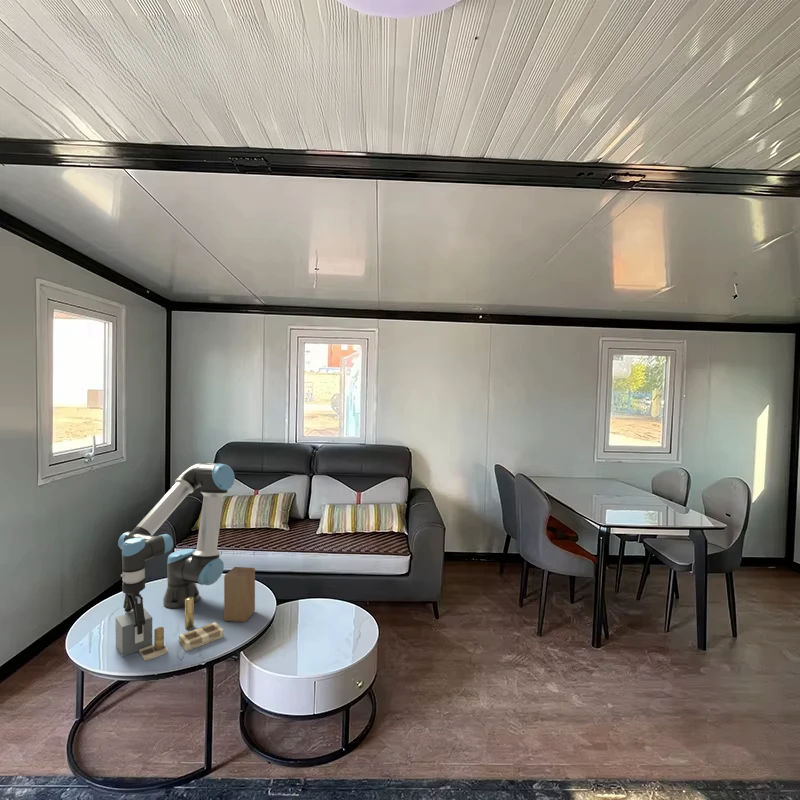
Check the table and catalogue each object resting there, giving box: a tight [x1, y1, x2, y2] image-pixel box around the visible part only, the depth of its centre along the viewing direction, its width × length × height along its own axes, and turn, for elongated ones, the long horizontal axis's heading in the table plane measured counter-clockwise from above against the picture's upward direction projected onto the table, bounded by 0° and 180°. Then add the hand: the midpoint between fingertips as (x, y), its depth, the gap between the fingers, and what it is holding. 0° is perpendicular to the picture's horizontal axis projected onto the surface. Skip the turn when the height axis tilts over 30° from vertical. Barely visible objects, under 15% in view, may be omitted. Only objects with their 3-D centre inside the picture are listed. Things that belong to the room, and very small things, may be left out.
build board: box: [178, 621, 224, 652], centre depth 174 cm, size 8×14×3 cm, turn 135°
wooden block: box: [223, 566, 256, 623], centre depth 192 cm, size 10×10×20 cm
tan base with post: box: [138, 626, 169, 662], centre depth 166 cm, size 8×8×8 cm
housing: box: [115, 607, 153, 657], centre depth 170 cm, size 10×10×11 cm
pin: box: [184, 597, 195, 630], centre depth 183 cm, size 3×3×12 cm
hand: (134, 634), depth 170 cm, fingers open, 13 cm apart
